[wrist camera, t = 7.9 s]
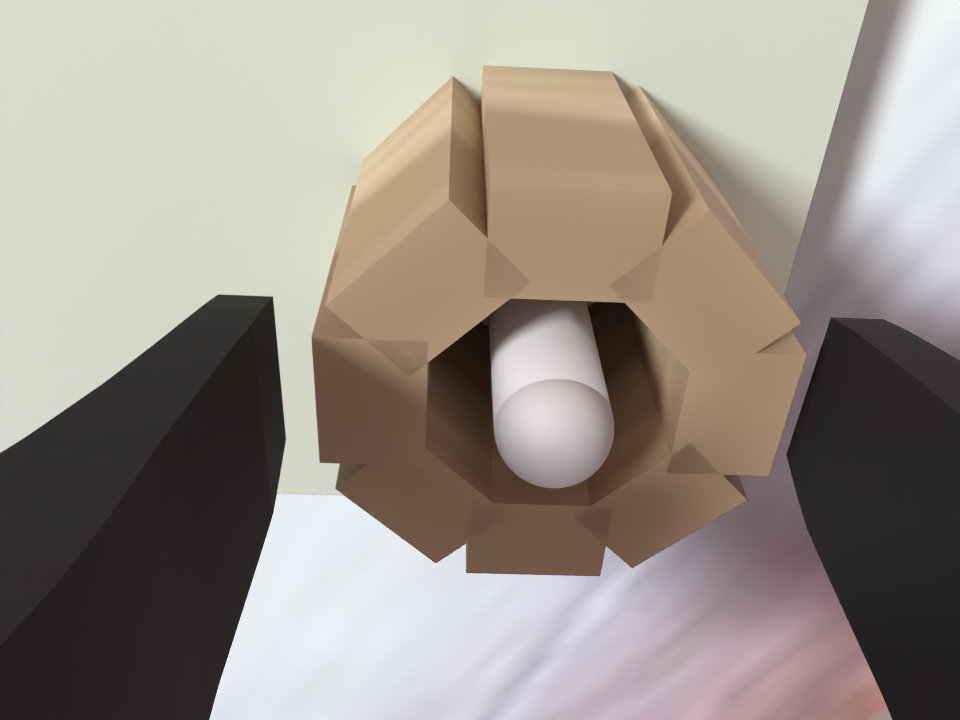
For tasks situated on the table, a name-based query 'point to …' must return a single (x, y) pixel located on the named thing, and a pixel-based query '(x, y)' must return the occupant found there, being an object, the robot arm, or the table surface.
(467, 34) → the board
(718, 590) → the table surface
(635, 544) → the bead
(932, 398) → the robot arm
